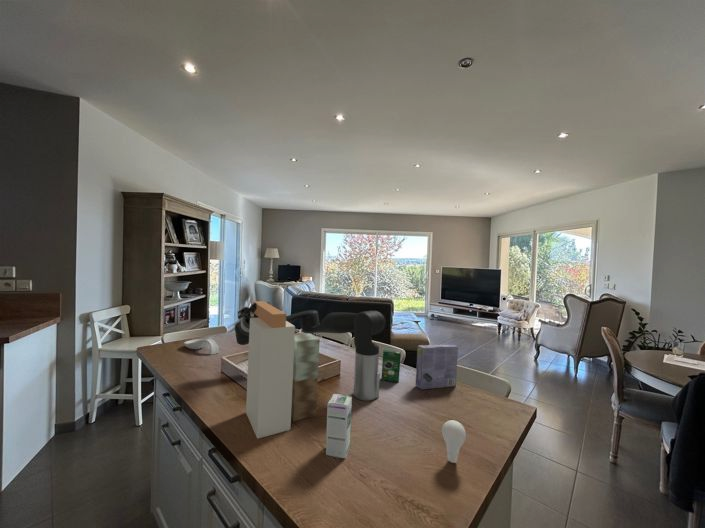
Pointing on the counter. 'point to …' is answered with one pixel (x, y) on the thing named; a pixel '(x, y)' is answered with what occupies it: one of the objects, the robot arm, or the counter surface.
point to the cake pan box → (436, 366)
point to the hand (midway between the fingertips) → (262, 305)
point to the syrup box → (338, 425)
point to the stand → (270, 377)
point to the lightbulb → (453, 438)
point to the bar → (270, 314)
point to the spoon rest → (202, 344)
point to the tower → (305, 376)
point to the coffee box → (391, 365)
